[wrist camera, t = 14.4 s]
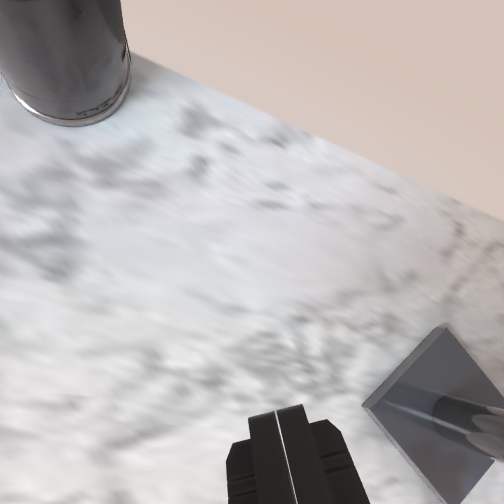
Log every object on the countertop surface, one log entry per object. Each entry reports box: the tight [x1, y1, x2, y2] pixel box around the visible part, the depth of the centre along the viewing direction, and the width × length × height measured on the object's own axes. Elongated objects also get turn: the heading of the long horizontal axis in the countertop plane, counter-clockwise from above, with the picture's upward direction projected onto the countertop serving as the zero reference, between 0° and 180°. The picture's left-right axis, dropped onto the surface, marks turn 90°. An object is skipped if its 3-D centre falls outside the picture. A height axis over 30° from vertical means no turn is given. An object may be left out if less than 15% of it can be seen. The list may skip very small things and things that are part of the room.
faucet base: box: [362, 327, 504, 504], centre depth 32 cm, size 11×10×12 cm
